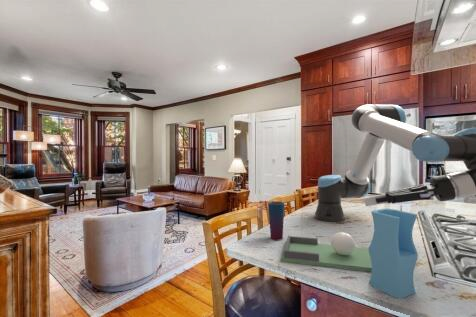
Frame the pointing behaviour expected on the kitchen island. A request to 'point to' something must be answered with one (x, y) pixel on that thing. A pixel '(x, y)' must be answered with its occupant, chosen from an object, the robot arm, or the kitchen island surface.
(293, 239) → the grey u-shaped wall
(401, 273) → the vase
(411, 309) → the kitchen island surface
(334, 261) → the mat
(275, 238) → the cup
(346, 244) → the ball
